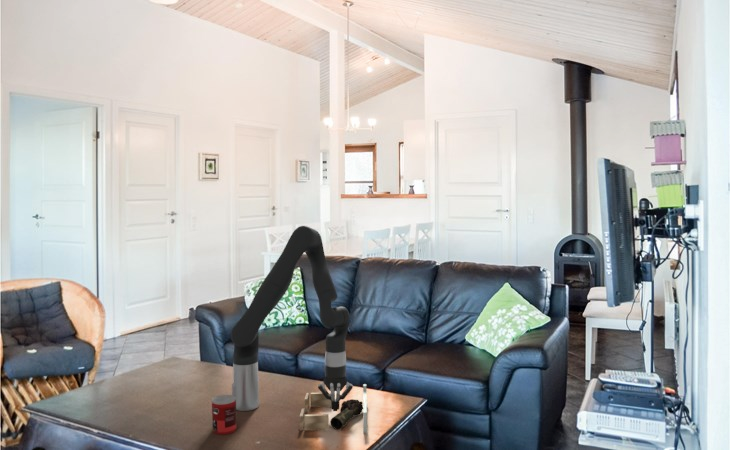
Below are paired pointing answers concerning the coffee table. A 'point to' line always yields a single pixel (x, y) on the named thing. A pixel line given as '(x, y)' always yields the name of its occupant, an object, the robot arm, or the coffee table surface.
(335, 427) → the dark elongated piece
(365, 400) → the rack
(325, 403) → the socket block
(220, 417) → the canned food
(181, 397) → the coffee table surface
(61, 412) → the coffee table surface
